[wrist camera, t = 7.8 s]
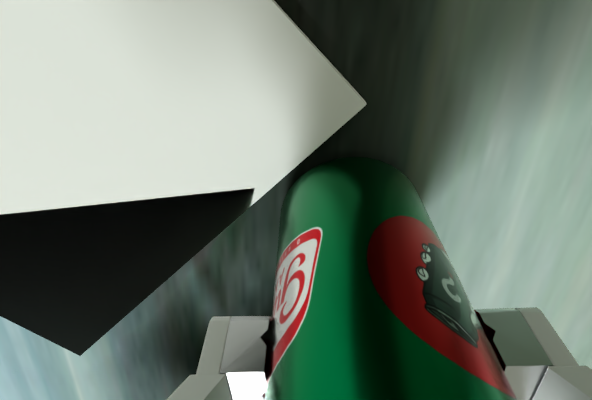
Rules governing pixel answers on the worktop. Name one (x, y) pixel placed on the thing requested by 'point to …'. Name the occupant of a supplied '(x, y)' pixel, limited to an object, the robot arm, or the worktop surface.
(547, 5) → the worktop surface
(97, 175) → the mat
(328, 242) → the soda can
